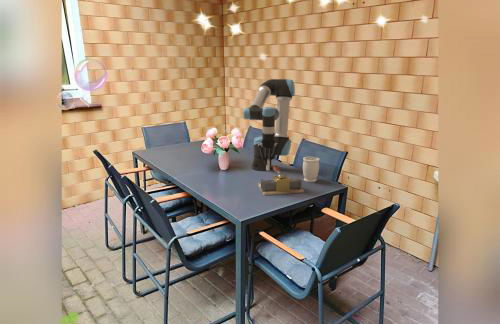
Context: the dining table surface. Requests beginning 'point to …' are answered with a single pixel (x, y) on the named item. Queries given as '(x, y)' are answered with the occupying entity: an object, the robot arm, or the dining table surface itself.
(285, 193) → the board
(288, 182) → the valve pipe
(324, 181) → the dining table surface
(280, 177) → the lever
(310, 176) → the jar
